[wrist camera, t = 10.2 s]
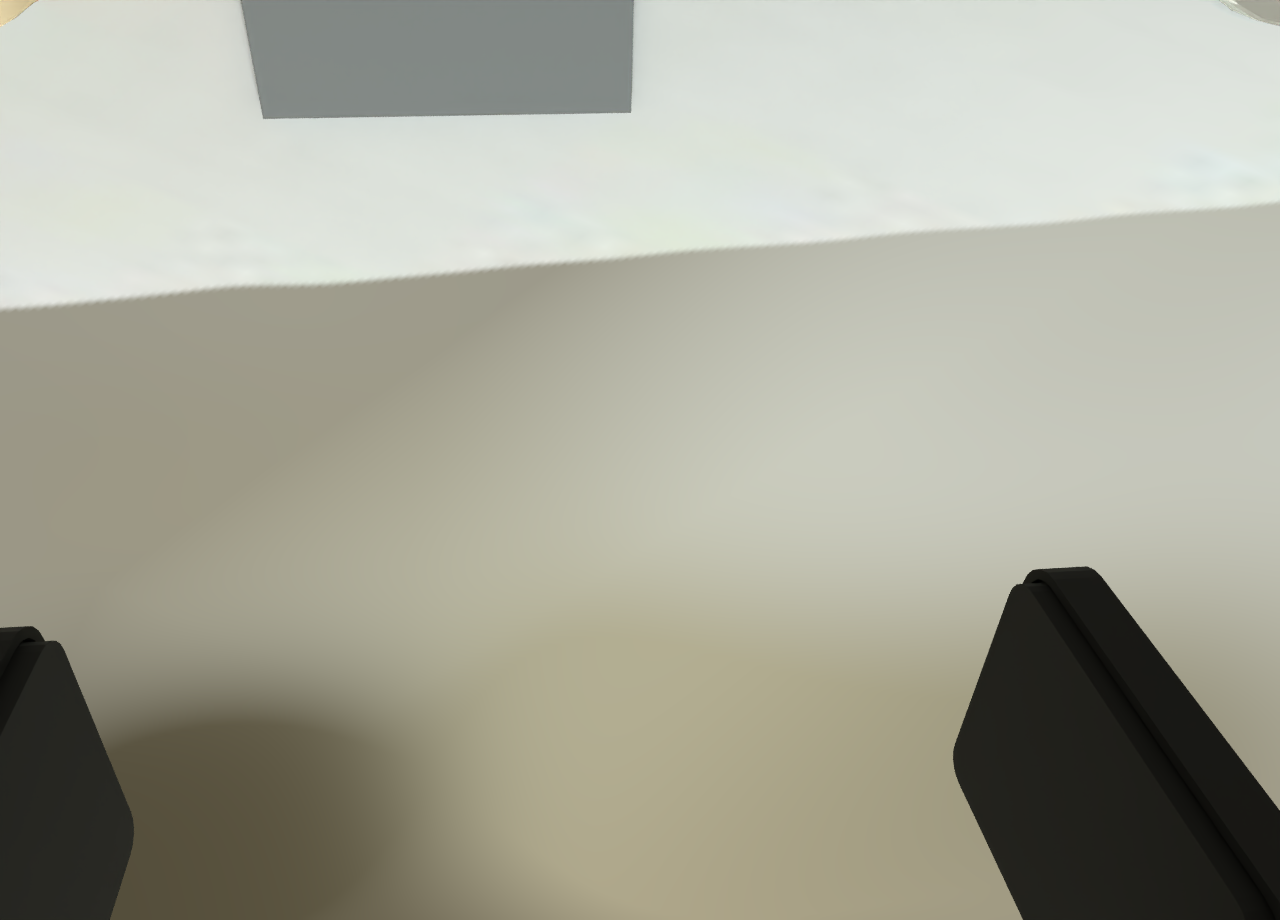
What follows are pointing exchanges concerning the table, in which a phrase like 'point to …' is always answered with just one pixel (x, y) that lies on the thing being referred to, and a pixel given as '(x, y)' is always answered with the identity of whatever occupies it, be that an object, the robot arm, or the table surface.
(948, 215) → the table surface
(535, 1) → the mat
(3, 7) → the lid
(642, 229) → the table surface
